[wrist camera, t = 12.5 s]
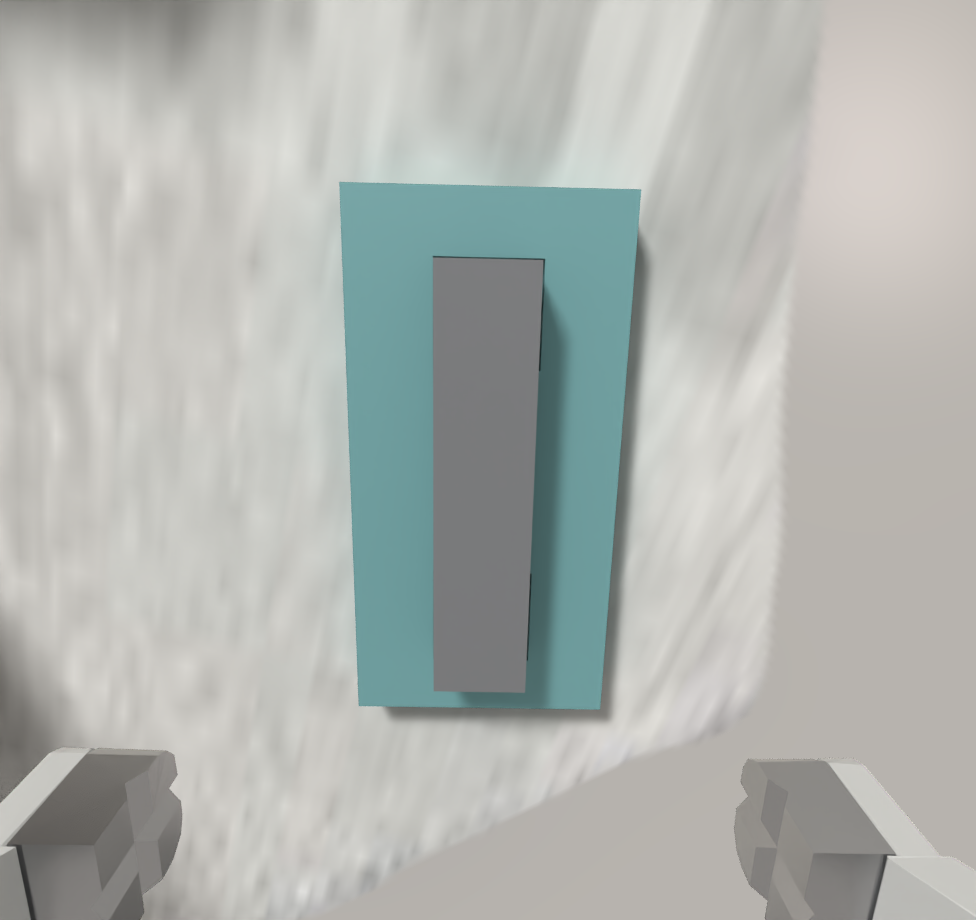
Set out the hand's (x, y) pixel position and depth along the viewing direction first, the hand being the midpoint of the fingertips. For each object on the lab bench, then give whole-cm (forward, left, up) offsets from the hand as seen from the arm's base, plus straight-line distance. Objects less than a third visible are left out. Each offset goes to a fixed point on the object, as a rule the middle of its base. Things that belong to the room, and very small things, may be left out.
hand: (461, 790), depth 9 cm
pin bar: (0, -1, -21) cm, 21 cm away
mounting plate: (0, -1, -21) cm, 21 cm away
